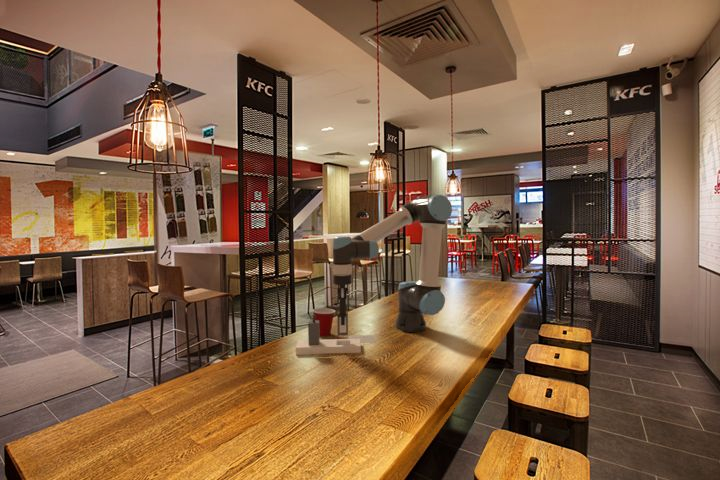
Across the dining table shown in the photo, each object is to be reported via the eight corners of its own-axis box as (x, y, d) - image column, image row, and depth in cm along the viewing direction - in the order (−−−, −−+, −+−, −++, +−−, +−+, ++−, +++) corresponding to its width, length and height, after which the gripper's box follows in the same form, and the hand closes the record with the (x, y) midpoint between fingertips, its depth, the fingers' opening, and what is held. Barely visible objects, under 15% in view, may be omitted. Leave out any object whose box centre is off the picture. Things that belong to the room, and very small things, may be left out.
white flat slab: (373, 335, 169) (373, 334, 169) (375, 343, 159) (375, 342, 159) (347, 336, 168) (347, 335, 168) (348, 343, 158) (348, 342, 158)
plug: (348, 332, 153) (347, 303, 152) (348, 335, 149) (347, 306, 148) (337, 332, 153) (337, 303, 152) (337, 335, 148) (337, 306, 148)
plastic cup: (340, 334, 170) (340, 309, 170) (322, 340, 163) (321, 313, 162) (326, 329, 178) (326, 305, 178) (308, 334, 171) (307, 309, 170)
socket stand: (359, 345, 156) (359, 311, 155) (360, 353, 147) (360, 316, 146) (298, 347, 155) (297, 312, 154) (295, 355, 146) (295, 318, 145)
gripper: (333, 271, 158) (334, 324, 159) (332, 277, 140) (333, 337, 142) (351, 271, 158) (351, 324, 159) (351, 277, 141) (352, 337, 142)
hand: (343, 330), depth 151 cm, fingers closed on plug, 4 cm apart
